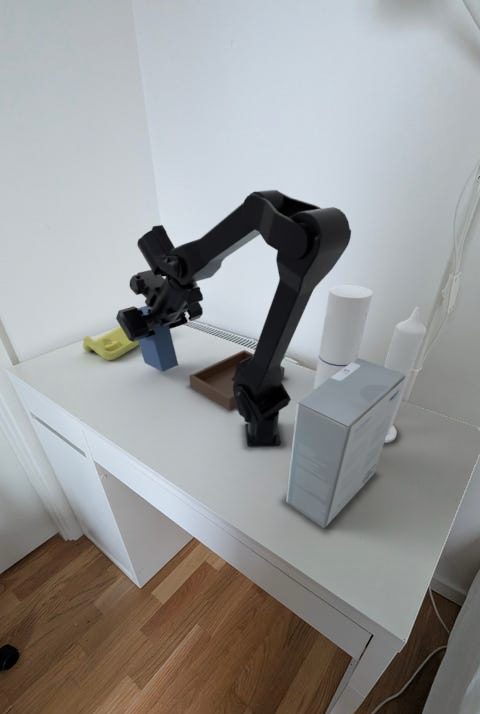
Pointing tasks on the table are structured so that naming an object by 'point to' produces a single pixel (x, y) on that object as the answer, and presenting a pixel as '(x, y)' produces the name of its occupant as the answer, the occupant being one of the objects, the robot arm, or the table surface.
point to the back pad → (158, 347)
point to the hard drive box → (340, 437)
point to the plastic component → (110, 344)
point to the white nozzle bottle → (404, 356)
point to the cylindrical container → (342, 329)
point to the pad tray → (220, 380)
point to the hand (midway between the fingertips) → (151, 332)
